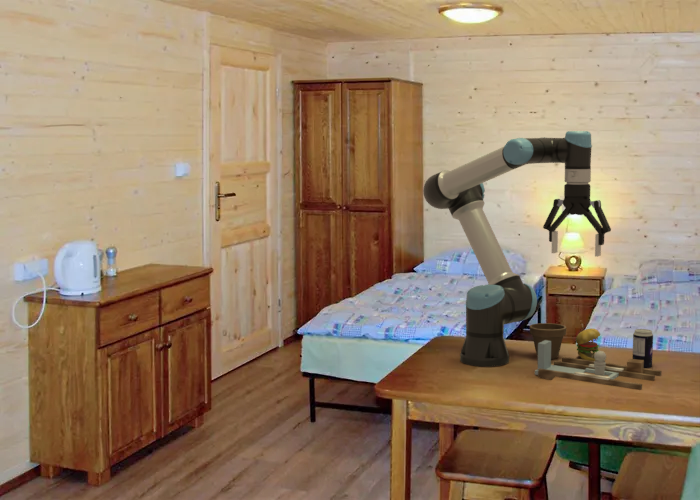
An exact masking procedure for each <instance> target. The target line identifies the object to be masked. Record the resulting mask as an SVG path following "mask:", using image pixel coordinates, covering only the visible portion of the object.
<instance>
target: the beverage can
mask: <svg viewBox="0 0 700 500" xmlns="http://www.w3.org/2000/svg"><path fill="white" fill-rule="evenodd" d="M653 344H654V334H653V331H652V330H651V329H646V328H636V329H634V332H633V335H632V358H631V359H637V360H644V368H646V369H652V368H653V352H654V349H653V348H654V347H653V346H654V345H653Z"/></svg>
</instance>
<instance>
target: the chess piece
mask: <svg viewBox="0 0 700 500" xmlns="http://www.w3.org/2000/svg"><path fill="white" fill-rule="evenodd" d="M594 358H595V361H594V367H595V374H594V375H600V376H606V375H604V372H605V367H606V365H605V364H606V363H607V362H606V360H607V354H606V352H605V351H603V350H599V351H597V352H595V355H594Z"/></svg>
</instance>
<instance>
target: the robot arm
mask: <svg viewBox="0 0 700 500" xmlns="http://www.w3.org/2000/svg"><path fill="white" fill-rule="evenodd" d="M564 135H565V136H564V137H534V138H533V137H531V138H530V137H517V138H512V139H509V140H507V142H506V143H505V144H504V146H503V147H500V148H497V149H496V150H493V151H491V152H489V153H487V154H485V155H483V156H481V157H477V158H475V159H474V160H472V161H470V162H469V161H468V163H465V164H463V165H461V166H458V167H456V168H453V169H452V170H447V169H445V170H442V171H440V172H438V173H435V174H433V175H431V176H430V177H428V178H427V179H426V181H425V182H424V184H423V189H422V192H423V196H424V199H425V201H426V203H428V205H429V206H431V207H432V208H435V209H438V210H449V213H450V214H451V217H452V218H453V219H455V220H458V221H459V223H460V226H461V227H462V230H463V232H464V234H465V236H466V239H467V240H468V242H469V244H470V247H471V248H472V250H473V254H474V255H475V258H476V260H477V262H478V264H479V266H480V269H481V270H482V273H483V275H484V277H485V279H486V281H487V284H484V285H483V284H481V285H477V286H472V287H471V288H470V289H468V290H467V293H466V300H465V338H464V342H463V345H462V348H461V351H460V352H459V353H460V355H459V356H460V357H459V360H460V362H461V363H463V364H465V365H469V366H474V367H484V368H485V367H486V368H487V367H491V368H492V367H500V366H504V365H507V364H509V362H510V354H509V351H508V347H507V344H506V341H505V337H504V329H505V328H504V326H505V325H508V324H513V323H521V322H522V321H525V320H527V319H529V318H531V317H532V316H533V315H534V313H535V311H536V309H537V308H536V307H537V305H538V298H537V294H536V292H535V289H534V288H533V287H532V286H531V285H529V284H527V283H523V280H522V278H521V277H520V275H519V274H518V273H514V272H513V270H512V268H511V266H510V264H509V262H508V260H507V258H506V256H505V254H504V251H503V250H502V247H501V245H500V243H499V241H498V239H497V237H496V235H495V233H494V231H493V228H492V226H491V224H490V221H489V220H488V218H487V215H486V213H485V211H484V209H483V208H484V206H485V200H484V198H485V194H484V193H485V192H486V191H485V189H486V188H485V185H484V183H486V182H488V181H490V180H492V179H495V178H497V177H500V176H501V175H504V174H507V173H508V172H511V171H513V170H516V169H518V168H521V167H523V166H526V165H531V164H533V165H534V164H561V163H562V164H564V183H565V184H564V186H563V187H564V189H563V191H564V192H563V197H564V198H563V199H561V198H555V199H553V204H552V207H551V210H550V211H549V214H548V215H547V218H546V220H545V222H544V223H543V225H542V229H544V230H547V231H548V241H549V242H551V254H556V253H558V249H559V248H558V243H559V242H558V240H559V238H558V237H559V232H558V230H557V229H558V228H559V226H560V225H561V224H562V223H563V221H565V219H566V218H567V217H568V216H569V215H571V216H572V215H577V216H582V215H583V216H584V217H585V218H586V219H587V221H589V224H590V225H591V226H592V227H593V228H594V230H595V231H596V232H597V233H596V234H595V236H594V237H595V238H594V239H595V241H594V246H595V247H594V257H600V256H601V255H602V246H603V245H604V244H605V234H606V233H610V232H611V230H612V228H611V226H610V224H609V222H608V220H607V216H606V215H605V212H604V210H603V209H602V202H601V200H600V199H597V200H591V185H590V183H591V182H592V180H591V179H592V176H591V175H592V174H591V173H592V171H591V170H592V169H591V165H592V164H591V163H592V160H591V159H592V147H593V144H592V133H591V132H590V131H588V130H583V131H582V130H576V131H575V130H574V131H573V130H571V131H570V130H569V131H568V130H567V131H566V132H565V134H564ZM562 206H563V207H564V209H563V210H562V211H561V213H560V215H559V216H558V217H557V218H556V216H557V215H558V212H559V210H560V207H562ZM591 206H592V208H593V209H594V212H595V214H596V216H597V218H598V220H597V219H596V217H595V216H594V214H593V213H592V210H591V209H590V207H591ZM555 218H556V219H555ZM554 219H555V221H554Z"/></svg>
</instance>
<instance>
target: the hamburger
mask: <svg viewBox="0 0 700 500" xmlns="http://www.w3.org/2000/svg"><path fill="white" fill-rule="evenodd" d="M581 327H582V329H583V330H582V331H580V332H579V333H578V334H577V335H576V339H575V341H576V347H577V348H576V351H577V355H578V356H579V358H580V359H583V360H590V361H595V358H594V355H595V353H596V352H597V351H600V349H599V347H600V345H599V344H598V340H599V337H601V333H600V331H599V330H598V329H596V328H586V329H584V324H581ZM594 340H595V341H596V342H594Z"/></svg>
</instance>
